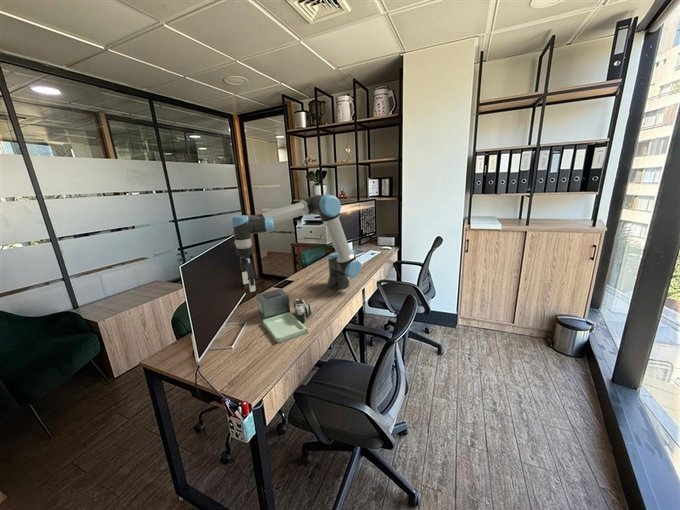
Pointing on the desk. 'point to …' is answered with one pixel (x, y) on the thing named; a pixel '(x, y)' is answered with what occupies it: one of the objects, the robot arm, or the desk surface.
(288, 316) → the tray
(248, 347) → the desk surface
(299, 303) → the camera
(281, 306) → the block
